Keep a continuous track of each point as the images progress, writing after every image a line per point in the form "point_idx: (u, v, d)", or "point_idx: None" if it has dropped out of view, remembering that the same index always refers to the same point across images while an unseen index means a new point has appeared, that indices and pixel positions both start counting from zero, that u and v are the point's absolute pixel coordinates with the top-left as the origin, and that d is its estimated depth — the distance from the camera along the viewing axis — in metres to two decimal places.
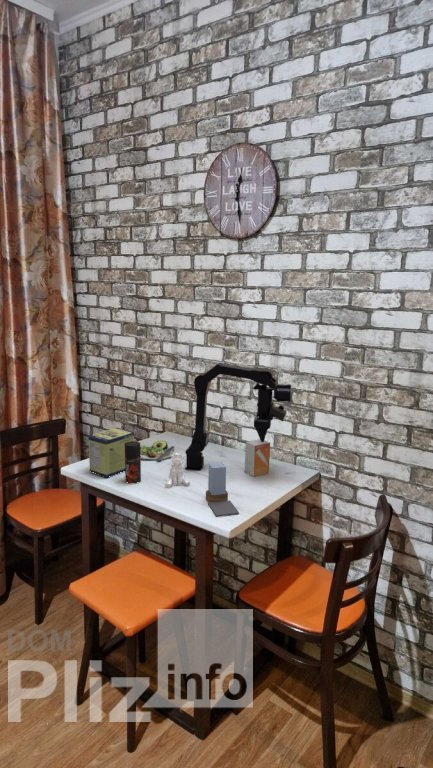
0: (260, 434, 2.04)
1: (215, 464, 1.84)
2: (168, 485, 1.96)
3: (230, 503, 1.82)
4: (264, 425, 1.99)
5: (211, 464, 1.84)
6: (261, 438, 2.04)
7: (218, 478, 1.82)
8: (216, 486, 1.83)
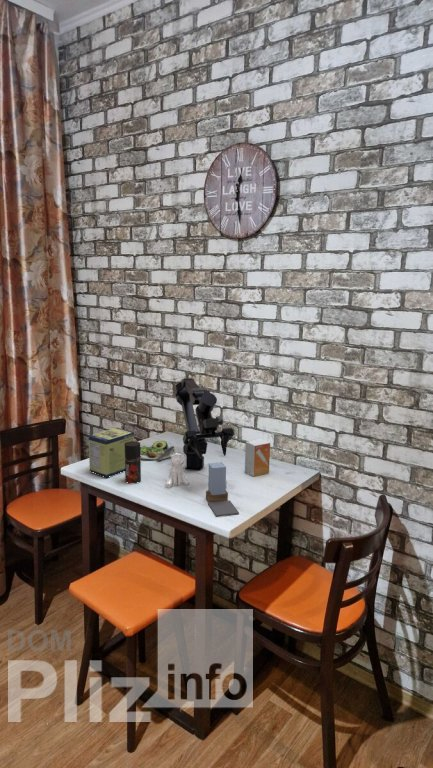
0: (195, 450, 1.92)
1: (215, 464, 1.84)
2: (168, 485, 1.96)
3: (230, 503, 1.82)
4: (185, 437, 1.92)
5: (211, 464, 1.84)
6: (198, 454, 1.91)
7: (218, 478, 1.82)
8: (216, 486, 1.83)
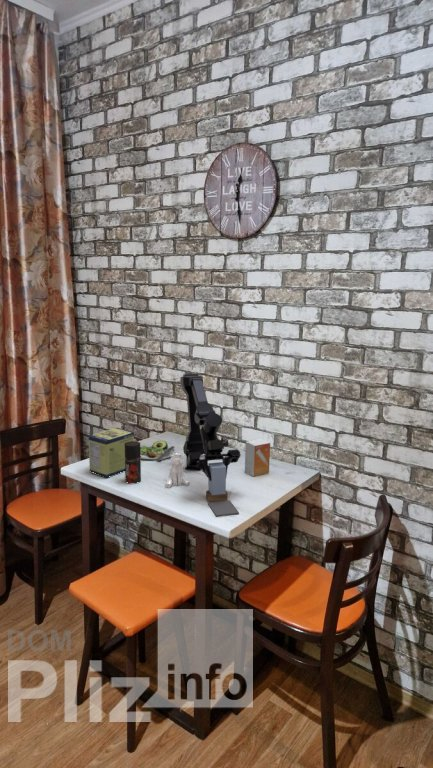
0: (205, 472, 1.85)
1: (215, 464, 1.84)
2: (168, 485, 1.96)
3: (230, 503, 1.82)
4: (188, 459, 1.84)
5: (211, 464, 1.84)
6: (208, 476, 1.84)
7: (218, 478, 1.82)
8: (216, 486, 1.83)
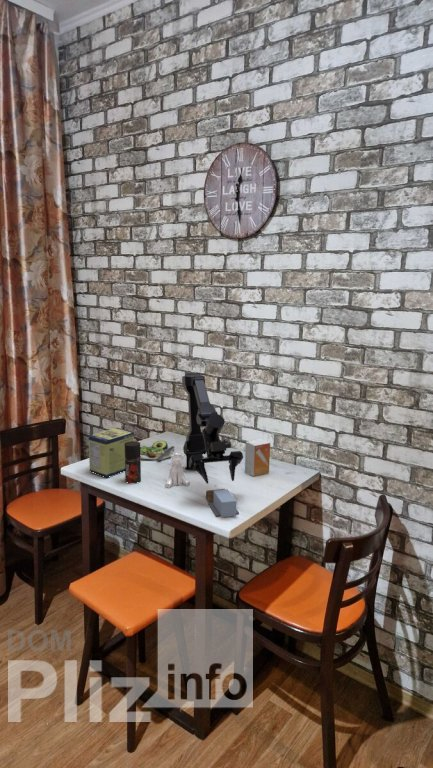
0: (202, 475, 1.82)
1: (227, 506, 1.72)
2: (168, 485, 1.96)
3: None
4: (190, 461, 1.82)
5: (223, 506, 1.72)
6: (204, 479, 1.80)
7: None
8: None
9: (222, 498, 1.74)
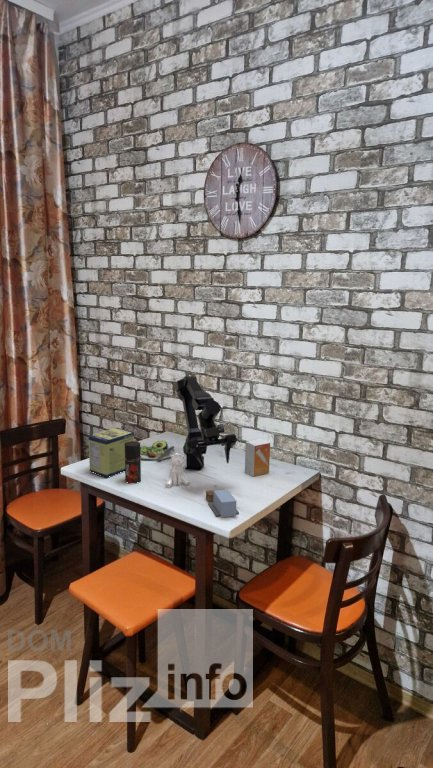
0: (198, 459, 1.92)
1: (227, 506, 1.72)
2: (168, 485, 1.96)
3: None
4: (186, 446, 1.92)
5: (223, 506, 1.72)
6: (200, 463, 1.91)
7: None
8: None
9: (222, 498, 1.74)
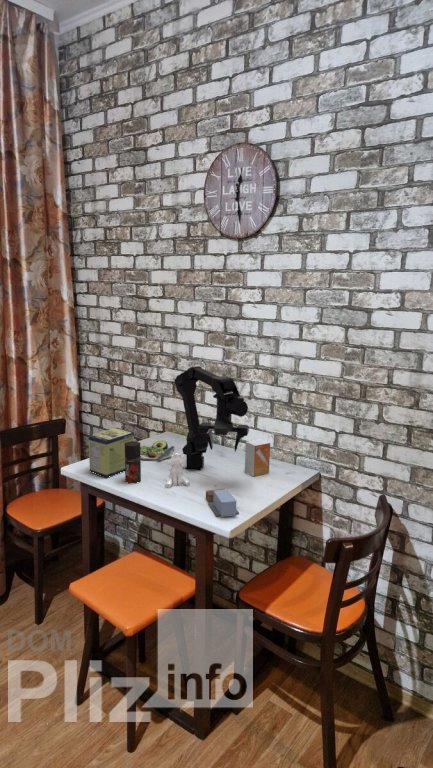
0: None
1: (227, 506, 1.72)
2: (168, 485, 1.96)
3: None
4: None
5: (223, 506, 1.72)
6: None
7: None
8: None
9: (222, 498, 1.74)
